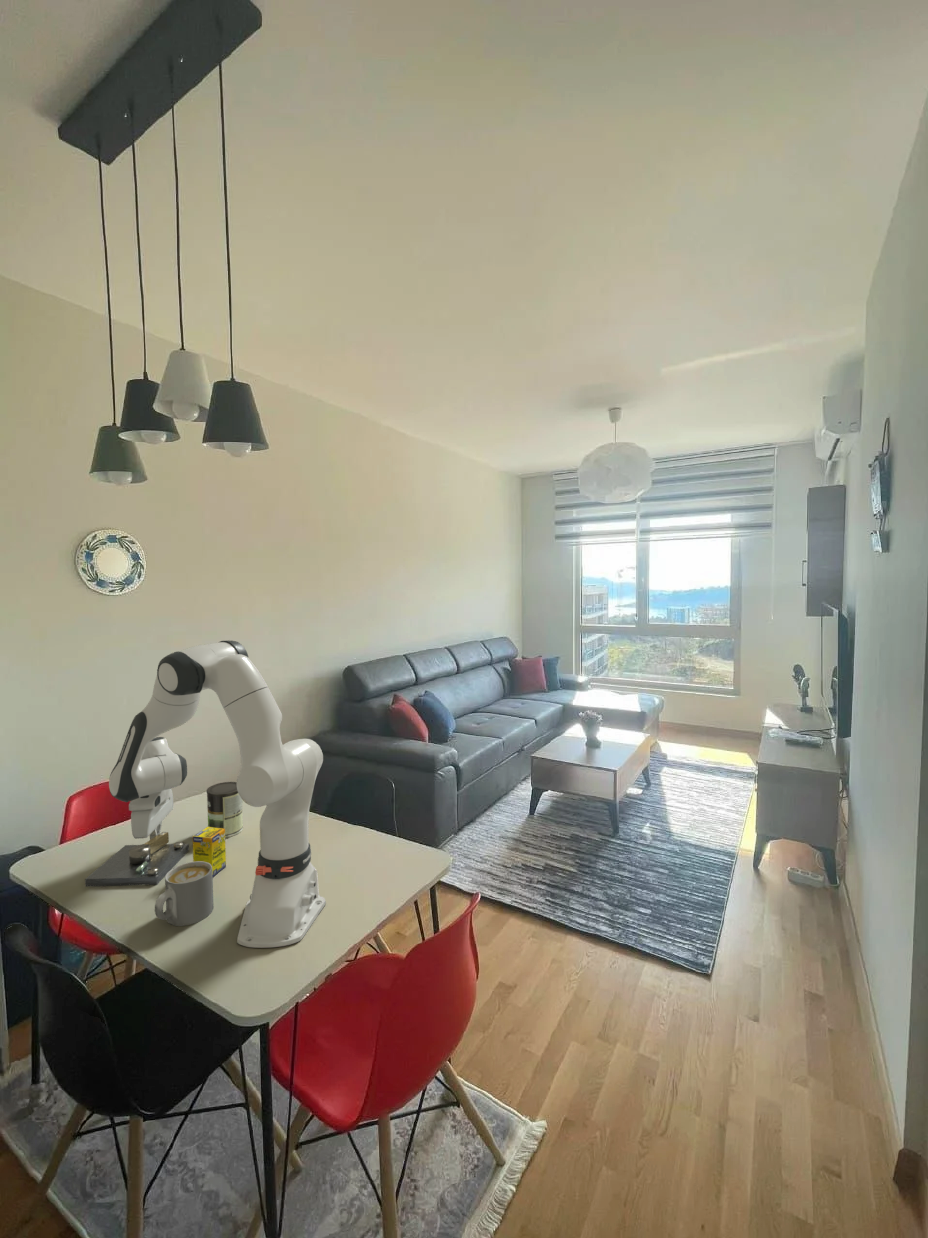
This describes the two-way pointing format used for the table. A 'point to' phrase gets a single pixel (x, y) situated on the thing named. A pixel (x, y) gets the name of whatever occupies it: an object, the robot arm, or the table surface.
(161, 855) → the plate
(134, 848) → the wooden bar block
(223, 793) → the coffee can
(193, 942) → the table surface
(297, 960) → the table surface
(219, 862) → the supplement box
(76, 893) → the table surface
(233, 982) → the table surface
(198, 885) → the coffee mug
